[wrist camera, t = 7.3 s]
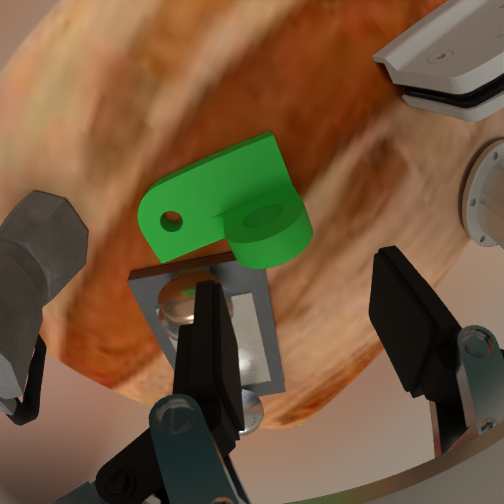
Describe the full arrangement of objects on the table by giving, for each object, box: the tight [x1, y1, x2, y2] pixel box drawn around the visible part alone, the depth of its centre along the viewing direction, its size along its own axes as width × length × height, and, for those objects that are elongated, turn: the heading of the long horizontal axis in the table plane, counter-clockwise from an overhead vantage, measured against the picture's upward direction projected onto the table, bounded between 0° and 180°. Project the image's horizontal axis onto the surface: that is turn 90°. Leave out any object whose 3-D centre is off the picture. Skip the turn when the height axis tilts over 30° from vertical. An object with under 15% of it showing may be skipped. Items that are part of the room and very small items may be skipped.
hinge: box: [372, 0, 504, 122], centre depth 14 cm, size 17×5×10 cm, turn 134°
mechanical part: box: [138, 131, 313, 269], centre depth 21 cm, size 12×6×8 cm, turn 112°
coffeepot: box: [0, 191, 88, 426], centre depth 17 cm, size 15×9×18 cm, turn 2°
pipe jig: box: [127, 252, 286, 436], centre depth 29 cm, size 21×12×8 cm, turn 9°
